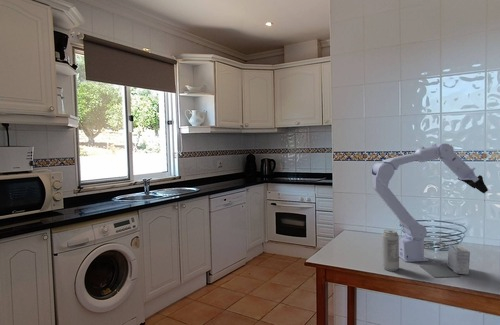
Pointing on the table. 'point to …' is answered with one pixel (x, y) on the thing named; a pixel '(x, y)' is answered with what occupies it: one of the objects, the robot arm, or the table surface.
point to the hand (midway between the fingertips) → (480, 189)
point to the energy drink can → (390, 250)
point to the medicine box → (458, 259)
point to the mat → (439, 271)
